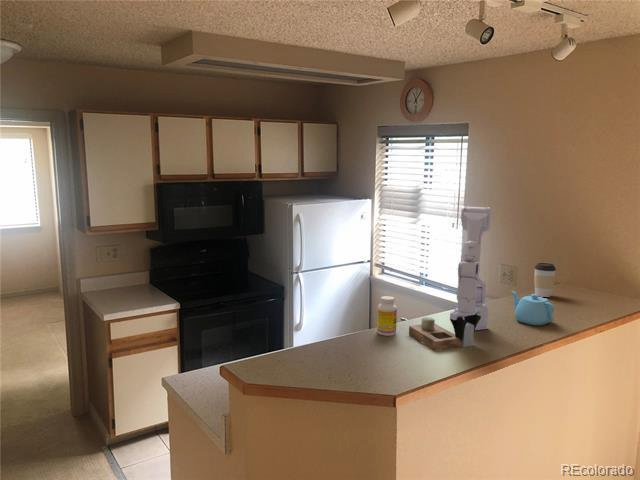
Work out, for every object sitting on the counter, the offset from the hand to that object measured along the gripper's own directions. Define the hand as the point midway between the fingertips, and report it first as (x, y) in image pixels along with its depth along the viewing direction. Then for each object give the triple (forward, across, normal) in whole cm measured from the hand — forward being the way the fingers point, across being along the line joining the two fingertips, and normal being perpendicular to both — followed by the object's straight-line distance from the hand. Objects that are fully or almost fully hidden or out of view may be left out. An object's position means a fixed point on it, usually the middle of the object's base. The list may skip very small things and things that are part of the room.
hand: (464, 337), depth 168 cm
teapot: (+1, -42, 0) cm, 42 cm away
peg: (+2, 0, 0) cm, 2 cm away
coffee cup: (0, -82, -15) cm, 84 cm away
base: (+2, +4, -9) cm, 10 cm away
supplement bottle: (+3, +12, -24) cm, 27 cm away
